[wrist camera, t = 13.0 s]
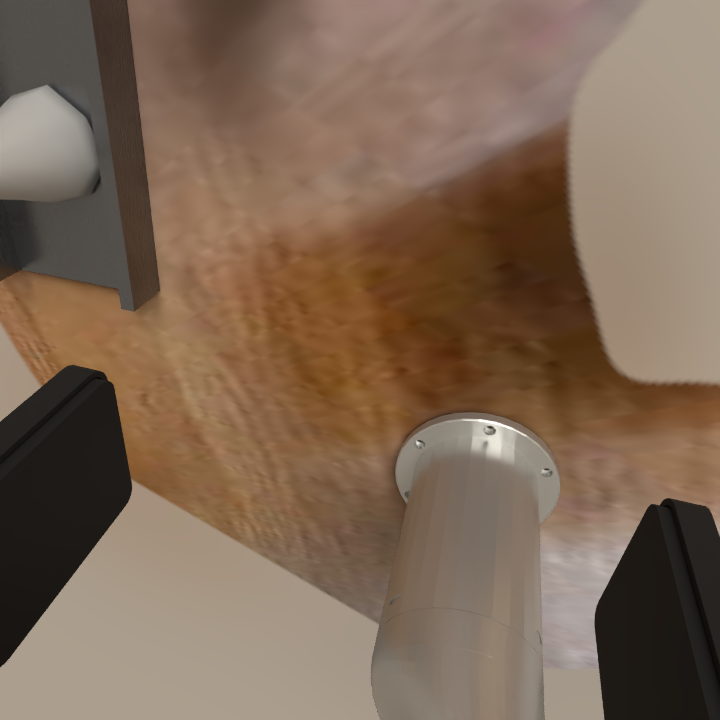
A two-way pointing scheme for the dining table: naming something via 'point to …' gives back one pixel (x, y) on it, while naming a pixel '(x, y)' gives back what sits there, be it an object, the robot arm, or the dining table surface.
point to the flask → (45, 149)
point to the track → (112, 139)
